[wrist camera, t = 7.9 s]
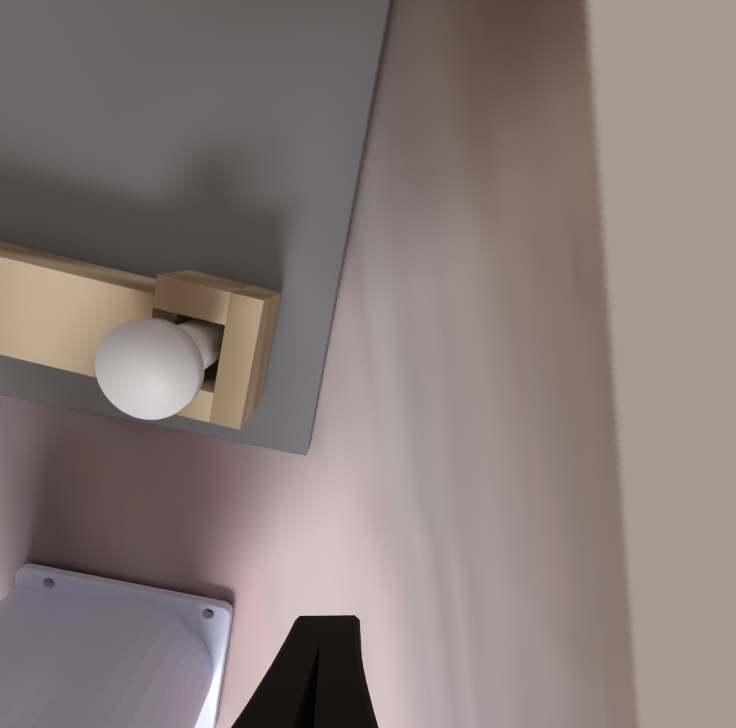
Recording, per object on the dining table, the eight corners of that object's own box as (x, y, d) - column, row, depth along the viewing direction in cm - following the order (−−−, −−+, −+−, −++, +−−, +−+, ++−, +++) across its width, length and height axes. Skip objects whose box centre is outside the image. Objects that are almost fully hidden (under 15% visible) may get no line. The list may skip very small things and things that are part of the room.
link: (281, 292, 16) (263, 300, 14) (259, 403, 17) (239, 429, 15) (-185, 177, 16) (-287, 165, 14) (-179, 298, 17) (-272, 308, 15)
